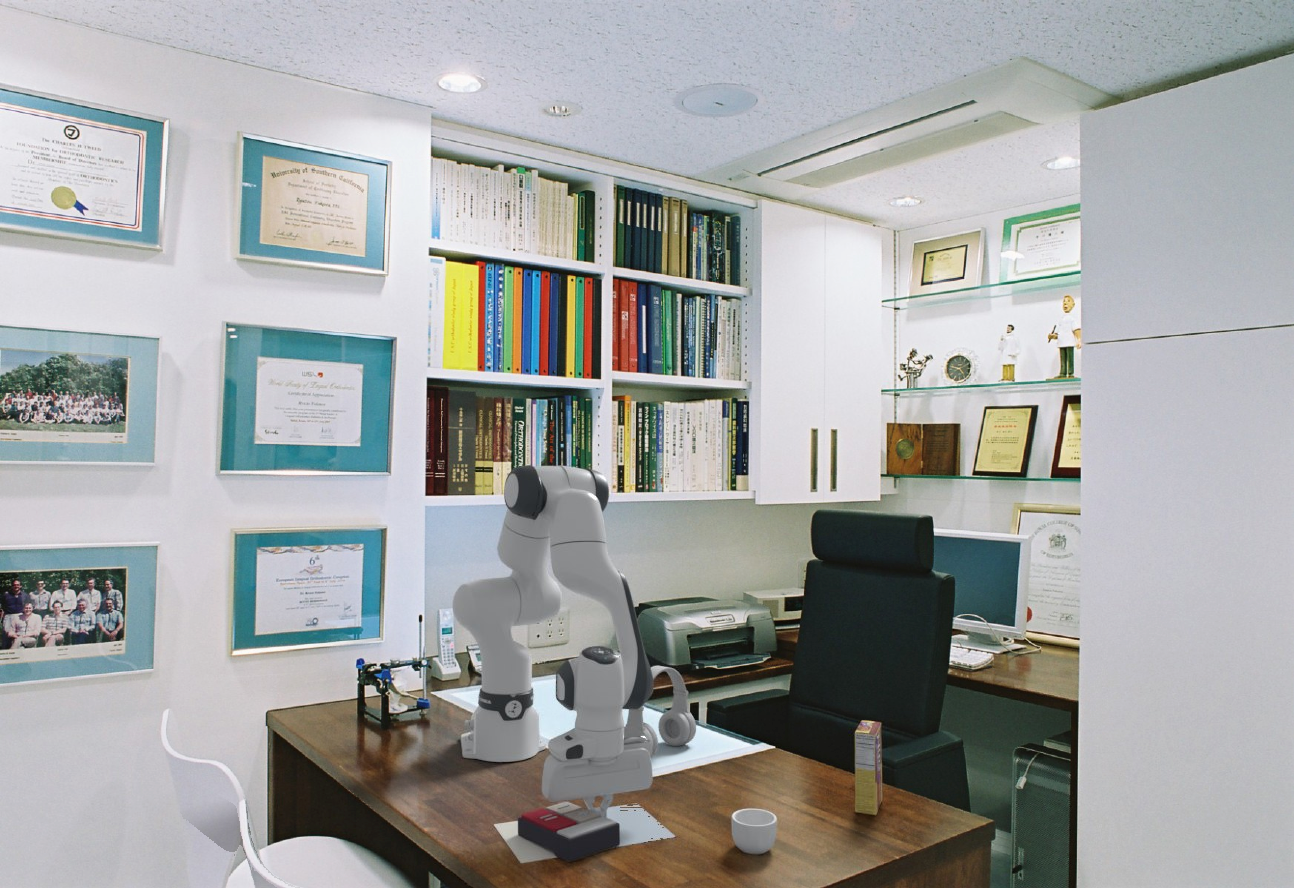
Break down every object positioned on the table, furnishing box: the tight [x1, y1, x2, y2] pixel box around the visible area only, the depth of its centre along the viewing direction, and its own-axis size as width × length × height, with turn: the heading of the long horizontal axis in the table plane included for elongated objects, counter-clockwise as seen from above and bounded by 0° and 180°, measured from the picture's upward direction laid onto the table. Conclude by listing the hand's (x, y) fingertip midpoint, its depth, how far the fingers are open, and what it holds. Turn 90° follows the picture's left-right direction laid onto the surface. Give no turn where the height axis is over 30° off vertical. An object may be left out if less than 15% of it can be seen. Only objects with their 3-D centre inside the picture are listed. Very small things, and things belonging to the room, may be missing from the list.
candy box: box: [854, 720, 883, 816], centre depth 176 cm, size 9×4×15 cm, turn 158°
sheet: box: [493, 802, 676, 864], centre depth 161 cm, size 17×28×1 cm, turn 115°
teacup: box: [730, 808, 778, 855], centre depth 156 cm, size 10×8×5 cm
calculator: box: [517, 801, 620, 863], centre depth 157 cm, size 11×4×15 cm
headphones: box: [624, 665, 697, 758], centre depth 206 cm, size 20×8×19 cm, turn 144°
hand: (597, 819), depth 162 cm, fingers closed
